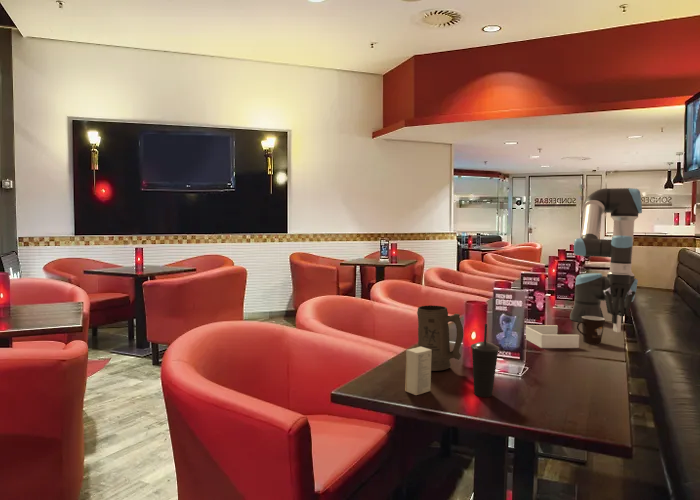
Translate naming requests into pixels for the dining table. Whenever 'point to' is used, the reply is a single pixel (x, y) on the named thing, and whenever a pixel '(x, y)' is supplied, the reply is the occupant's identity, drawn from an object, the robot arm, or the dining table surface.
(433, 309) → the beer stein
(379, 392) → the dining table surface
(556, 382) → the dining table surface
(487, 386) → the drinking cup
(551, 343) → the cream u-shaped bracket
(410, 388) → the skincare box
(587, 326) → the dark brown mug
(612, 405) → the dining table surface
